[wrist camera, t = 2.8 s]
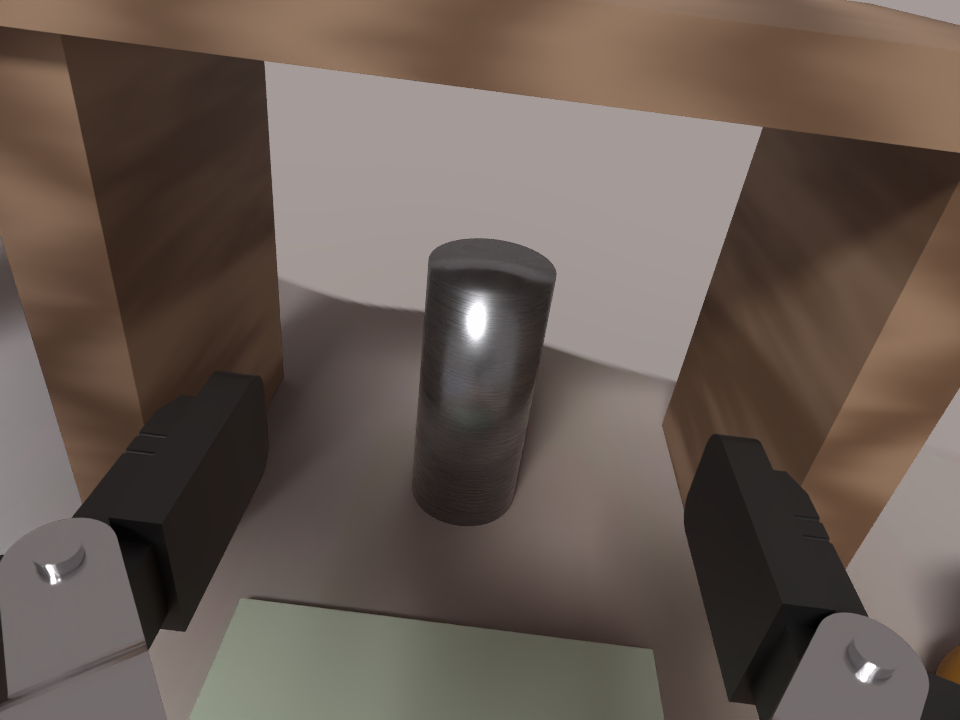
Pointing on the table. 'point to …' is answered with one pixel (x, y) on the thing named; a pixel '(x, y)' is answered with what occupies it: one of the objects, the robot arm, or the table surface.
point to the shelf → (517, 70)
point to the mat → (415, 671)
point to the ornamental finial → (950, 666)
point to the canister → (478, 375)
